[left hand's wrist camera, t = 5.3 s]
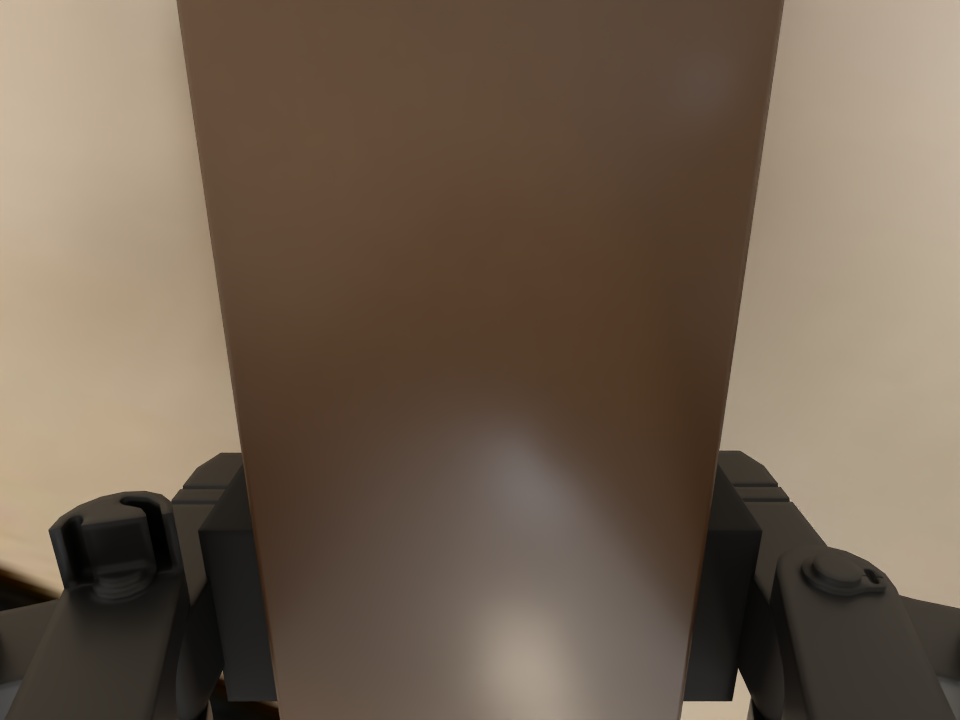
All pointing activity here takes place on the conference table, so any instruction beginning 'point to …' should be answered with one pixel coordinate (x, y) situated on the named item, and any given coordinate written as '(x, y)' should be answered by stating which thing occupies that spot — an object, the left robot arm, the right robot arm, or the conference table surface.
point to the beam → (480, 335)
